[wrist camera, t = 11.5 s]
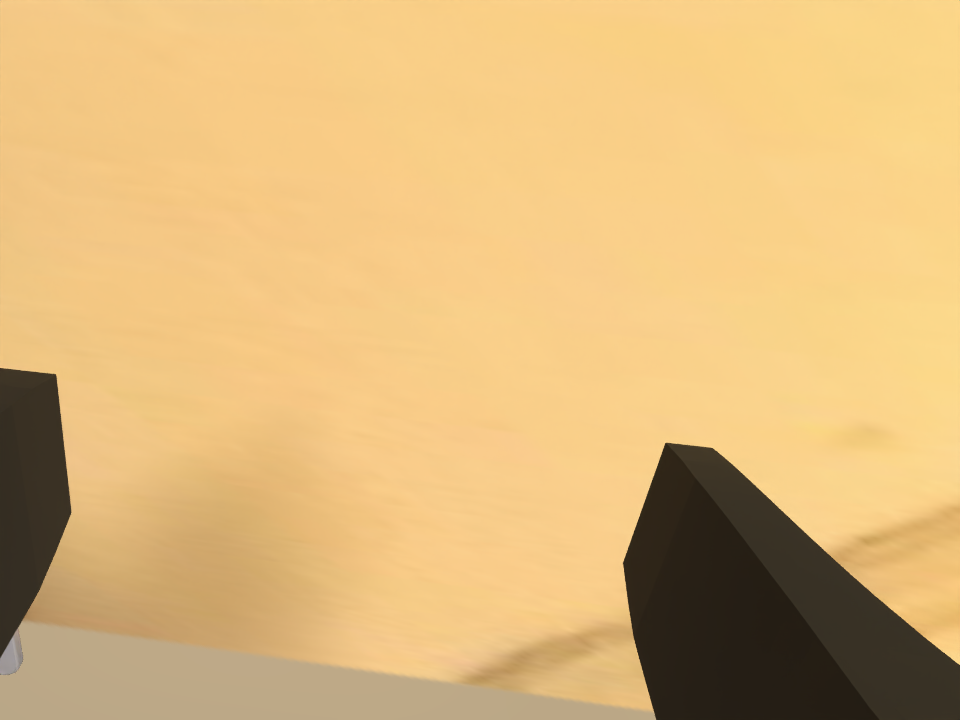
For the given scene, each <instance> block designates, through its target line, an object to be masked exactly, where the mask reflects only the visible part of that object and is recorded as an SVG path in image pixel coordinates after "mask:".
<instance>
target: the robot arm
mask: <svg viewBox="0 0 960 720" xmlns="http://www.w3.org/2000/svg"><path fill="white" fill-rule="evenodd" d="M70 515H71V504H70V495H69V486H68V477H67V468H66V459H65V450H64V441H63V432H62V423H61V414H60V405H59V396H58V387H57V378H56V374H48V373H39V372H30V371H21V370H12V369H3V368H0V675H10V674H12V673H15V672H16V671H17V670H18V669H19V667H20V665H21V663H22V662H23V654H22V648H21V642H20V636H19V630H18V627H19V625H20V623H21V622H22V620H23V618H24V616H25V615H26V613H27V611H28V609H29V608H30V606H31V604H32V602H33V600H34V599H35V597H36V595H37V593H38V592H39V590H40V587H41V585H42V583H43V580H44V578H45V576H46V573H47V571H48V569H49V567H50V564H51V562H52V560H53V557H54V555H55V552H56V550H57V547H58V545H59V542H60V540H61V537H62V535H63V532H64V530H65V527H66V525H67V522H68V520H69V517H70ZM623 566H624V574H625V581H626V589H627V597H628V604H629V611H630V617H631V623H632V629H633V636H634V640H635V644H636V648H637V652H638V655H639V659H640V663H641V666H642V670H643V674H644V677H645V681H646V684H647V688H648V692H649V695H650V699H651V702H652V706H653V709H654V713H655V716H656V720H960V665H959V664H957V663H956V662H955V661H954V660H952V659H951V658H950V657H949V656H947V655H946V654H945V653H943V652H942V651H941V650H940V649H938V648H937V647H936V646H935V645H933V644H932V643H931V642H930V641H928V640H927V639H926V638H925V637H923V636H922V635H921V634H920V633H919V632H917V631H916V630H915V629H914V628H913V627H911V626H910V625H909V624H908V623H907V622H905V621H904V620H903V619H902V618H901V617H899V616H898V615H897V614H896V613H895V612H894V611H892V610H891V609H890V608H889V607H888V606H886V605H885V604H884V603H883V602H882V601H880V600H879V599H878V598H877V597H876V596H874V595H873V594H872V593H871V592H870V591H869V590H868V589H867V588H865V587H864V586H863V585H862V584H861V583H860V582H859V581H857V580H856V579H855V578H854V577H853V576H852V575H851V574H849V573H848V572H847V571H846V570H845V569H844V568H843V567H842V566H841V565H840V564H838V563H837V562H836V561H835V560H834V559H833V558H832V557H831V556H830V555H829V554H827V553H826V552H825V551H824V550H823V549H822V548H821V547H820V546H819V545H818V544H817V543H816V542H814V541H813V540H812V539H811V538H810V537H809V536H808V535H807V534H806V533H805V532H804V531H803V530H802V529H801V528H799V527H798V526H797V525H796V524H795V523H794V522H793V521H792V520H791V519H790V518H789V517H788V516H787V515H786V514H785V513H784V512H782V511H781V510H780V509H779V508H778V507H777V506H776V505H775V504H774V503H773V502H772V501H771V500H770V499H769V498H768V497H767V496H766V495H764V494H763V493H762V492H761V491H760V490H759V489H758V488H757V487H756V486H755V485H754V484H753V483H752V482H751V481H750V480H748V479H747V478H746V477H745V476H744V475H743V474H742V473H741V472H740V471H739V470H738V469H737V468H735V467H734V466H733V465H732V464H731V463H730V462H729V461H727V460H726V459H725V458H724V457H723V456H722V455H720V454H719V453H718V452H717V451H715V450H714V449H713V448H708V447H699V446H690V445H681V444H672V443H665V446H664V449H663V452H662V455H661V457H660V460H659V463H658V466H657V469H656V471H655V474H654V477H653V480H652V483H651V486H650V488H649V491H648V494H647V497H646V500H645V503H644V505H643V508H642V511H641V514H640V517H639V519H638V522H637V525H636V528H635V531H634V534H633V536H632V539H631V542H630V545H629V548H628V551H627V553H626V556H625V559H624V562H623Z"/></svg>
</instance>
